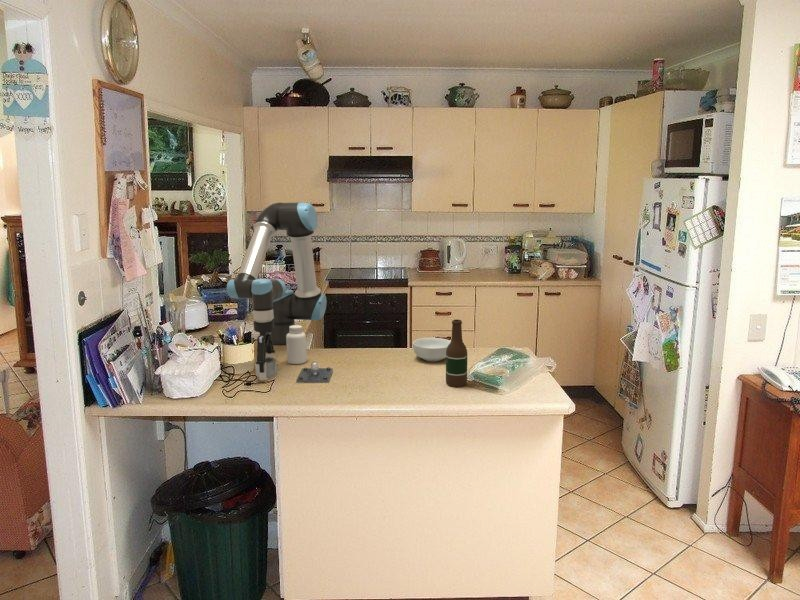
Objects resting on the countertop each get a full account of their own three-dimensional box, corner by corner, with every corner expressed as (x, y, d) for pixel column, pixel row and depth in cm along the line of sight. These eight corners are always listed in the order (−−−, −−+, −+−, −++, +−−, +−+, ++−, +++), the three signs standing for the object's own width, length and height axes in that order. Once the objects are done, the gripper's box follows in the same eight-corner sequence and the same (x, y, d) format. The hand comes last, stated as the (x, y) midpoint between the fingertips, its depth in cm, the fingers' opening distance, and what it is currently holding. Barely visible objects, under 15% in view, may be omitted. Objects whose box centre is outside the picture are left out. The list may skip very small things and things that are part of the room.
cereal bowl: (441, 367, 252) (442, 350, 250) (405, 361, 260) (405, 344, 259) (459, 356, 266) (460, 340, 265) (424, 351, 274) (424, 335, 273)
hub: (258, 372, 248) (258, 357, 246) (278, 372, 247) (277, 357, 246) (254, 378, 240) (253, 363, 239) (274, 378, 240) (273, 363, 239)
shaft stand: (302, 370, 249) (301, 357, 248) (332, 370, 249) (332, 357, 247) (296, 382, 235) (295, 368, 234) (328, 382, 235) (328, 368, 234)
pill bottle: (308, 359, 264) (307, 324, 261) (304, 365, 256) (302, 329, 253) (290, 358, 265) (288, 324, 262) (284, 364, 257) (283, 328, 254)
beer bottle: (441, 383, 232) (441, 320, 227) (456, 379, 237) (456, 316, 232) (456, 389, 226) (456, 323, 222) (471, 384, 231) (472, 320, 226)
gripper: (260, 313, 251) (263, 365, 256) (245, 328, 228) (249, 385, 232) (279, 313, 251) (282, 365, 256) (266, 327, 228) (269, 385, 232)
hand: (266, 374), depth 244 cm, fingers open, 12 cm apart
